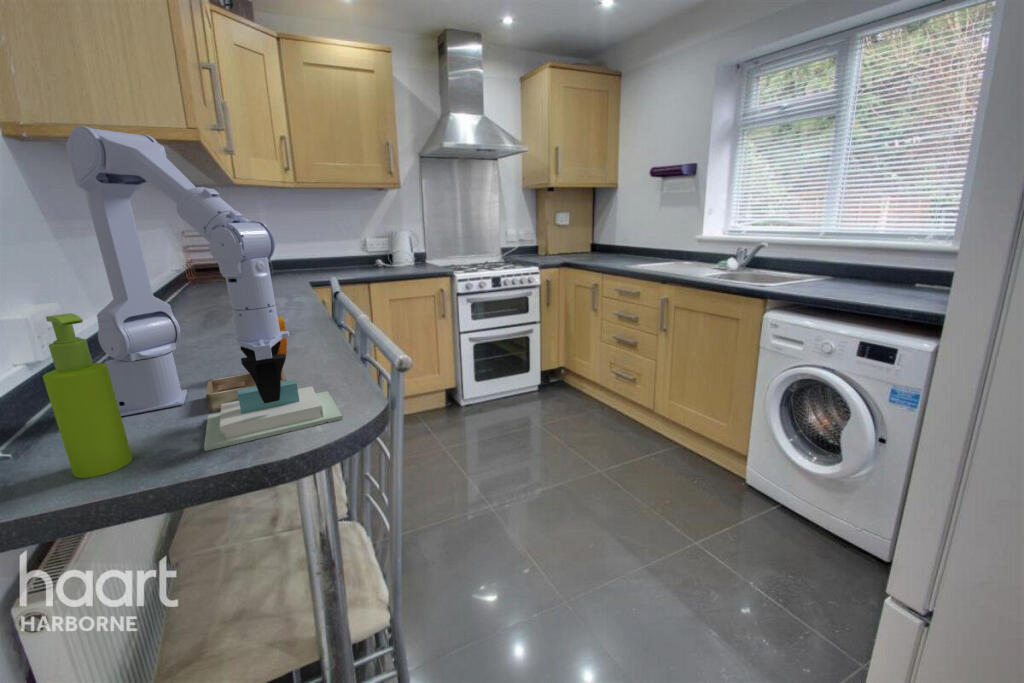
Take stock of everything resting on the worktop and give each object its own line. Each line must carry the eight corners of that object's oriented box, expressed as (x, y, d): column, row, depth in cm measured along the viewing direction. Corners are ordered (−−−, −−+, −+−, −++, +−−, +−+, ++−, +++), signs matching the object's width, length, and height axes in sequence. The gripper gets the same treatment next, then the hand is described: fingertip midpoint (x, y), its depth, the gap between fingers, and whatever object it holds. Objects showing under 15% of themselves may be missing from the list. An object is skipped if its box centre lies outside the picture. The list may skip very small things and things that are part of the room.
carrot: (286, 373, 96) (273, 301, 92) (262, 374, 96) (248, 301, 92) (297, 366, 101) (285, 296, 97) (274, 366, 101) (262, 297, 97)
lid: (222, 439, 66) (215, 407, 64) (223, 414, 74) (217, 386, 73) (323, 416, 72) (319, 387, 71) (313, 396, 81) (309, 369, 79)
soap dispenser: (86, 485, 56) (36, 322, 51) (66, 471, 60) (17, 317, 55) (143, 463, 61) (103, 312, 56) (121, 451, 65) (81, 308, 60)
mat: (204, 451, 64) (204, 447, 63) (208, 418, 74) (208, 415, 74) (342, 419, 72) (342, 415, 72) (328, 394, 83) (327, 391, 83)
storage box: (209, 412, 77) (205, 395, 76) (211, 396, 85) (208, 380, 84) (289, 396, 83) (286, 380, 82) (284, 382, 90) (282, 367, 90)
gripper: (288, 310, 65) (304, 402, 68) (279, 297, 77) (293, 376, 80) (229, 317, 61) (249, 413, 65) (230, 302, 73) (246, 384, 77)
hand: (270, 393), depth 72 cm, fingers open, 7 cm apart
